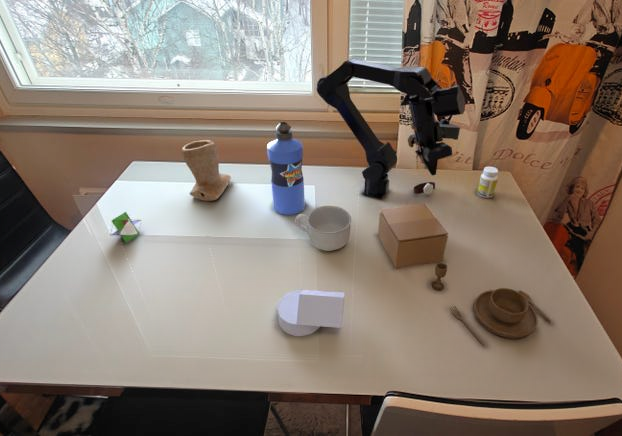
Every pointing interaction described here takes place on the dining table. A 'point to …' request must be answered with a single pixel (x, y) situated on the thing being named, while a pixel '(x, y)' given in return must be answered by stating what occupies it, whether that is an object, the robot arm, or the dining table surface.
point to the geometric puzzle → (125, 227)
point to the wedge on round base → (310, 311)
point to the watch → (424, 188)
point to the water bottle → (286, 171)
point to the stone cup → (205, 170)
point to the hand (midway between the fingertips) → (433, 174)
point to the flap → (407, 213)
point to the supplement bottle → (488, 182)
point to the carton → (413, 241)
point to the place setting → (499, 309)
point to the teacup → (327, 227)
